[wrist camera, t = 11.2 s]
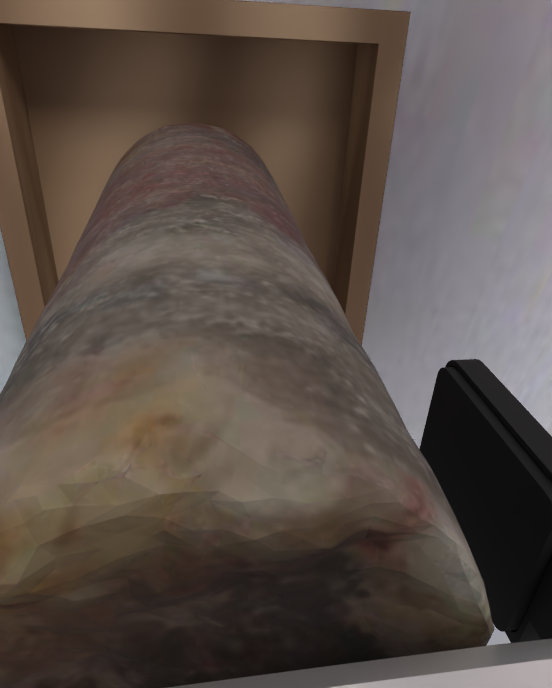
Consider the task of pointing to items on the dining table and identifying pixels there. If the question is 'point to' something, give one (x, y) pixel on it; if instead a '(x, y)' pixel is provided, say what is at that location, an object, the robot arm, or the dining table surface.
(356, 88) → the wooden tray
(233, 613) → the candle
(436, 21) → the dining table surface
